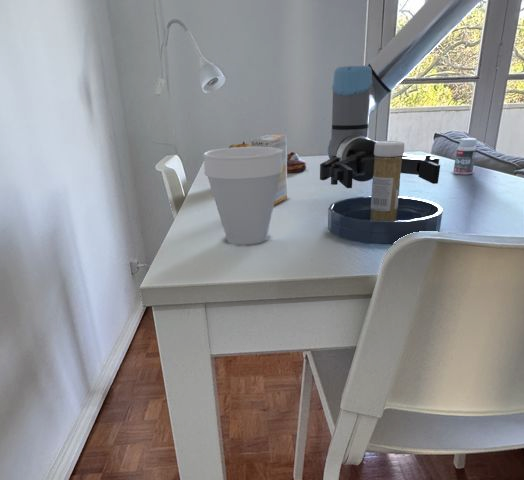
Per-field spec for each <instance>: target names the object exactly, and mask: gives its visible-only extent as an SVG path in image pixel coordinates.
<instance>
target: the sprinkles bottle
mask: <svg viewBox="0 0 524 480" xmlns="http://www.w3.org/2000/svg"><path fill="white" fill-rule="evenodd" d="M376 142H377V143H375V147H374V155H375V157H374V158H375V162H374V174H373V179H372V183H371V184H372V185H371V196H372V197H371V217H370V220H372V221H396V216H397V208H398V199H399V197H400V188H401V187H400V185H401V174H402V173H401V163H402V158H403V155H404V154H405V147H406V146H405V142H404V141H401V140H400V141H399V140H381V141H376Z"/></svg>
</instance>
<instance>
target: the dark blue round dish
mask: <svg viewBox="0 0 524 480" xmlns="http://www.w3.org/2000/svg"><path fill="white" fill-rule="evenodd" d="M371 197H372V195H371V196H358V197H357V196H356V197H349V198H345V199H341V200H337V201H335V202H333V203H331V204H330V205H329V206H328V209H327V229H328V232H329V233H331V235H334V236H336V237H338V238H340V239H344V240H346V241H347V240H348V241H351V242H357V243H361V244H368V245H369V244H370V245H394V244H393V243H394V242H395V241H397V240H398V239H399V238H401V237H403V236H405V235H407V234H410V233H413V232H419V231H438V232H439V233H440V231H441V224H442V218H443V212H444V210H443V208H442V207H443V206H440V205H439V204H437V203H435V202H433V201H429V200H426V199H421V198H415V197H408V196H399V199H398V208H397V216H396V221H372V220H370V217H371Z"/></svg>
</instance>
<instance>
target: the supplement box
mask: <svg viewBox="0 0 524 480" xmlns="http://www.w3.org/2000/svg"><path fill="white" fill-rule="evenodd" d="M287 140H288V139H287V134H267V135H263V136H260V137H259V136H258V137H255V138H252V139H250V140H249V144H250V146H251V147H273V148H279V149H281V150H282V153H281V157H282V169H283V170H282V172H281V173H280V176H279V181H278V186H277V191H276V196H275V201H274V206H275V205H278V204H280V203H281V202H283V201H284V200H287V199H288V172H287V154H288V152H287V145H288V144H287V143H288V142H287Z"/></svg>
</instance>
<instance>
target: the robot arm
mask: <svg viewBox="0 0 524 480" xmlns="http://www.w3.org/2000/svg"><path fill="white" fill-rule="evenodd" d="M482 2H483V0H427V1H426V2H424V4H423V5H422V6H421V7H420V8H419V9H418V10H417V12H415V14H414V15H413V16H412V17H411V18H410V19H409V20H408V21H407V22H406V23H405V25H403V27H401V29H400V30H399V31H398V32H396V34H395V36H393V37H392V39H390V41H389V42H388V43H387V44H386V45H384V47H382V49H381V50H380V51H379V53H378V54H377V55H375V57H374V58H373V59H372V60H371V61H370V62H369V63H368V64H367V65H347V66H338V67H336V69H334V72H333V81H332V82H333V83H332V85H331V89H332V112H331V113H332V115H331V132H330V133H331V136H330V140H329V142H328V145H327V156H328V158H329V159H327V160H325V161H323V162H322V163H320V164H319V181H326V180H329V178H330V185H332V186H335V185H338V183H340V184H341V185H343V187H344V188H346V189H352V188H353V181H356V182H360V183H362V182H368V181H371V180H373V174H374V162H375V158H374V157H375V155H374V147H375V143H377V142H378V141H376V140H374V139H371V138H369V121H370V115H371V114H372V113H373V112H374V111H376V110H377V108H378V107H379V106H380V104H381V103H382V102H383V101H384V100H385V98H387V97H388V96H389V95H390V94H391V92H392V91H394V89H395V88H396V87H397V86H398V85H400V83H401V82H402V81H403V80H405V78H407V77H408V76H409V75H410V73H412V72H413V70H415V69H416V67H417V66H419V64H421V62H422V61H423V60H425V59H426V57H427V56H428V55H429V54H430V53H431V52H433V51H434V49H435V48H436V47H438V46H439V45H440V43H441V42H442V41H443V40H444V39H446V37H448V36H449V35H450V33H452V32H453V31H454V30H455V28H457V27H458V25H460V24H461V23H462V22H463V21H464V20H465V19H466V17H468V15H469V14H470V13H472V12H473V11H474V10H475V9H476V8H477V7H478V6H479V5H480V4H481V3H482ZM440 172H441V164H440V158H438V157H432V155H431V154H426V155H425V156H423V155H414V154H407V153H404V155H403V158H402V163H401V174H406V175H415V176H416V175H417V176H418V178H419V179H422V180H424V181H426V182H427V183H430V184H432V185H437V184H439V177H440Z"/></svg>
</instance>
